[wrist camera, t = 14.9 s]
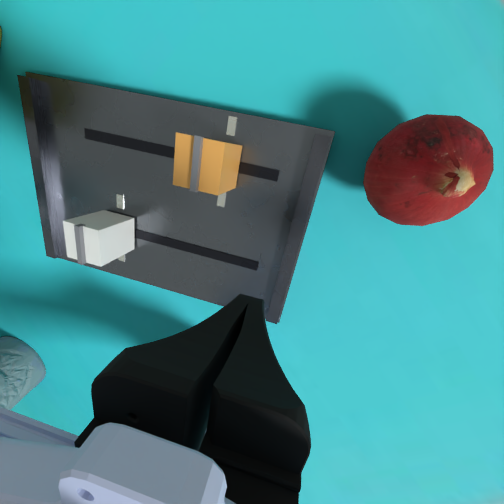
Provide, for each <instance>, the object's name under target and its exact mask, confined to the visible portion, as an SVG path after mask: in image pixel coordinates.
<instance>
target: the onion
mask: <svg viewBox="0 0 504 504" xmlns="http://www.w3.org/2000/svg"><path fill="white" fill-rule="evenodd" d="M493 170H494V169H493V148H492V146H491V144H490V142H489V141H488V139H487V137H486V136H485V134H484V132H483V131H482V130H481V129H480V128H478V127H477V126H475V125H473V124H472V123H470V122H468V121H467V120H465V119H463V118H462V117H460V116H447V115H428V114H426V115H423V116H420V117H417V118H415V119H412V120H409V121H406V122H403V123H401V124H398V125H397V126H396V127H395V128H394V129H393V130H391V131H390V132H389V133H388V134H387V135H385V136H384V137H383V138H382V139H381V140H380V141H378V142H377V144H376V146H375V148H374V150H373V151H372V153H371V155H370V157H369V159H368V161H367V162H366V168H365V175H364V181H363V184H364V187H365V191H366V195H367V199H368V201H369V202H370V204H371V205H372V206H373V208H374V209H375V210H376V211H377V213H378V214H379V215H380V216H382V217H384V218H386V219H388V220H391V221H393V222H395V223H397V224H401V225H416V226H424V225H428V224H432V223H436V222H440V221H444V220H448V219H450V218H451V217H453V216H455V215H456V214H458V213H460V212H461V211H463V210H465V209H466V208H468V207H469V206H470V205H471V204H472V203H473V202H474V201H475V200H476V199H477V198H478V196H479V195H480V194H481V193H482V192H483V191H484V190H485V189H486V186H487V184H488V182H489V179H490V177H491V174H492V172H493Z"/></svg>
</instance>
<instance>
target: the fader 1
mask: <svg viewBox="0 0 504 504" xmlns="http://www.w3.org/2000/svg"><path fill="white" fill-rule="evenodd" d="M63 227H64V235H65V243H66V251H67V257H69V258H73V259H76V260H78V264H81V265H83V264H85V263H90V264H93V265H96V266H100V267H102V266H103V265H105V264H107V263H109V262H111V261H113V260H115V259H117V258H119V257H120V256H122V255H124V254H126V253H128V252H130V251H132V250H134V218H132V217H129V216H125V215H121V214H117V213H113V212H109V211H106V210H102V211H98V212H95V213H91V214H87V215H83V216H79V217H75V218H72V219H68V220H64V221H63Z"/></svg>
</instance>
